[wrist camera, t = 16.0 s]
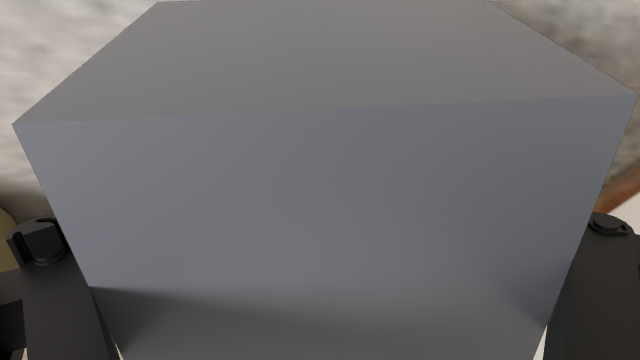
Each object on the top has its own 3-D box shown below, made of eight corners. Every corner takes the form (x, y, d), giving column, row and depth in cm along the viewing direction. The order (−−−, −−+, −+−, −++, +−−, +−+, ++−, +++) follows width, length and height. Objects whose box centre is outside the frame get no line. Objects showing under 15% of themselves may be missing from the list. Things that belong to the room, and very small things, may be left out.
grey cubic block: (157, 1, 14) (11, 123, 7) (467, -12, 14) (639, 94, 7) (211, 237, 20) (161, 439, 13) (432, 225, 20) (509, 418, 13)
